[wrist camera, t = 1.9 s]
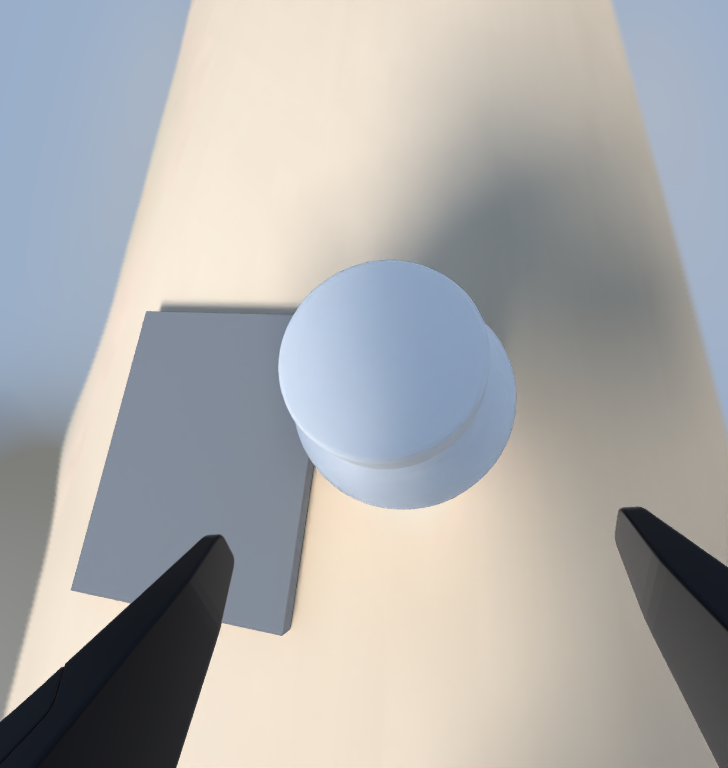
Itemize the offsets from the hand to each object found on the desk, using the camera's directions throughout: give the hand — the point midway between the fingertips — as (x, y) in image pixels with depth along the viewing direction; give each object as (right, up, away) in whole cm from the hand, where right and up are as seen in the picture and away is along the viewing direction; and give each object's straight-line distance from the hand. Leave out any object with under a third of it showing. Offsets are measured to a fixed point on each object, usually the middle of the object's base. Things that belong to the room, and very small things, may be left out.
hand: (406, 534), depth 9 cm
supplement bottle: (+2, +1, +12) cm, 12 cm away
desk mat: (-9, 0, +14) cm, 17 cm away
